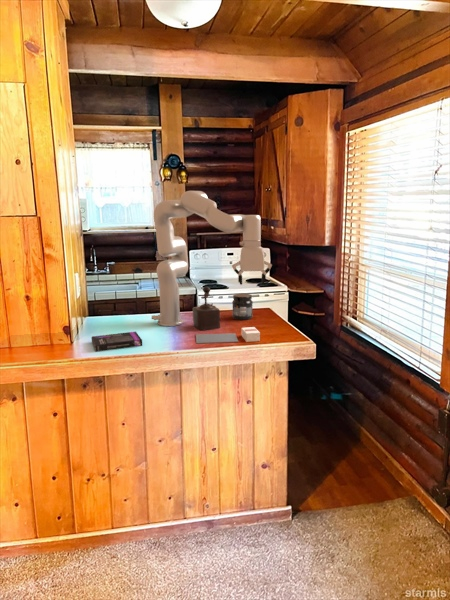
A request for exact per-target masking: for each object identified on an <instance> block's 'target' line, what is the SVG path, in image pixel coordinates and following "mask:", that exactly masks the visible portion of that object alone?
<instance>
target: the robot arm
mask: <svg viewBox="0 0 450 600" xmlns="http://www.w3.org/2000/svg"><path fill="white" fill-rule="evenodd" d="M217 207H218V206H217V202H215V201H214V200H212V199H210V198H208V195H207V193H205V192H204V191H202V190H187V191H185V192H183V193H182V194H181V196H180V199H167V200H162V201H160V202H159V203H157V204H156V206H155V207H154V210H153V222H154V227H155V237H156V244H157V245H156V246H157V253H158V254H159V256H161V257H162V258H169V257H171V258H169V259H165V260H162V261H160V262H159V263H158V265H157V267H156V275H157V279H158V287H159V289H158V290H159V308H160V310H159V311H160V312H159V314H157V315H154V314H153V315H151V320H153V321H157V324H158V325H159V326H162V327H175V326H180V325H182V324H183V323H184V319H182V318H181V314H180V312H181V311H180V288H179V286H180V285H179V283H178V281H177V278H178V279H179V278H181V277H184V276H185V275H187V274H188V270H189V257H188V247H187V243H186V241H185V240H184V238H183V237H181V236H179V235H177V236H176V235H175V229H174V225H173V223H172V222H171V221H172V220H171V219H185V218H188V217H190V216H192V215H193V214H195V215H197V216H199V217H201V218H202V219H203V218H204V219H205V220H206V221H207V223H208V224H209V225H211V226H212V227H214V229H217V230H219V231H221V232H224V233H226V234H231V233H232V234H233V233H240V232H242V241H239V246H242V247H241V249H240V257H239V261H236V262H235V263H233V264H232V265H231V267H232V269H233V271H234V272H235V274H237V276H238V277H237V278H238V283H239V285H240V286H242V285H243V273H245V272H261V284H262V285H265V282H267V281H266V280H267V279H266V277H267V274H268V273H269V272H270V271H271V268H272V266H273V264H272V263H270V262H268V261H266V260H265V257H264V256H265V254H264V247H262V246H261V245H262V243H261V241H262V239H261V238H262V237H261V235H262V226H261V225H262V223H261V222H262V221H261V220H262V219H261V215H259V214H240V213H239V214H229V213H226V212H225V211H224V212H223V211H221V209H218V208H217ZM238 266H239V268H240V269H239V270H238V269H237V267H238ZM265 266H267V268H266V269H265Z"/></svg>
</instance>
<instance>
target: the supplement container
mask: <svg viewBox="0 0 450 600" xmlns="http://www.w3.org/2000/svg"><path fill="white" fill-rule="evenodd" d="M232 299H233V300H232V303H231V304H232V315H231V316H232V318H233V319H234V320H238V321H239V320H240V321H247V320H250V319H252V318H253V316H254V315H253V303H254V302H253V300H252V299H253V297H252V294H250V293H243V292H242V293H236V294H233V297H232Z"/></svg>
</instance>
